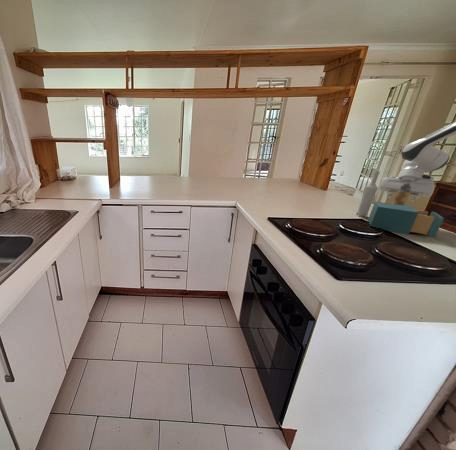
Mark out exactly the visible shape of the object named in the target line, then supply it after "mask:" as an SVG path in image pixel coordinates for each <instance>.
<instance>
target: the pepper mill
mask: <svg viewBox="0 0 456 450" xmlns="http://www.w3.org/2000/svg"><path fill="white" fill-rule="evenodd" d="M410 189H411V186H410V183H405V184H404V185H401V187H400V190H399V191H397V193H395V196H394V199H393V201H392V203H391V204H396V205H403V206H406V204H407V202H408V199H409V197H410V196H411V195H410V192H409V191H410Z"/></svg>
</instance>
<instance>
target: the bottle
mask: <svg viewBox="0 0 456 450" xmlns="http://www.w3.org/2000/svg"><path fill="white" fill-rule="evenodd" d="M380 173H381V171H380V170H375V171H374V173H373V176H372V179H371V181H370V183H369V184H367V185H365V187H364V190H363V192H362V196H361V199H360V203H359V206H358V208H357V210H356V212H355V215H356V216H358V215H359V216H358V217H362V216H367V217H368V215H369V211H370V208H371V206H372V203H373V201H374V199H375V196H376V194H377V191H378V190H379V186H377V184H376V183H377V181H378V178H379V175H380Z"/></svg>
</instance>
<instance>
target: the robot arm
mask: <svg viewBox="0 0 456 450" xmlns="http://www.w3.org/2000/svg"><path fill="white" fill-rule="evenodd" d="M453 136H456V120H455V121H453V122H451V123H448V124H447V125H445V126H444V127H440V128H439V129H437V130H434V131H432V132H431V133H429V134H427V135H424V136H423V137H421V138H418V139H416V140H412V141H410V142H409V143H408V144H406V145H404V146H403V148H402V149H401V159H403V160H404V161H403V163H402V165H401V168H400V171H399V173H398V175H397V176H389V175H387V176H384V177H381V179H380V184H379V186H378V191H380V192H385V194H386V198H388V199H391V197H392V195H393V193H395V194H397V191H399V190H400V187H401V185H404V184H405V183H410V186H411V189H410V191H409V192H410V195H409V196H413V197H412V198H411V202H414V203H415V202H417V200H418V199H420V198H421V197H423V198H430V197H432V195H433V194H434V190H435V183H434V179H435V176H432V175H428V174H427V173H431V172H435V171H438V170H440V169H442V168H444V167H445V166H446V165H447V164H448V162H449V161H450V157H451V156H450V154H449V153H448V152H447V151H444V150H442V149H440V148H438V147H436V146H434V145H435V144H437V143H439V142H442V141H444V140H446V139H448V138H450V137H453ZM425 173H426V174H425Z"/></svg>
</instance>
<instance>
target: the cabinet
mask: <svg viewBox="0 0 456 450" xmlns="http://www.w3.org/2000/svg"><path fill="white" fill-rule="evenodd" d="M416 210H417V209H415V208H414V207H413V206H409V205H405V206H403V205H396V204H392V203H388V202H383V201H374V203H373V206H372V207H371V210H370V214H369V216H368V219H367V222H369V223H368V225H369V224H370V225H369V227H370V226H372V227H377V228H381V229H380V230H382V229H383V231H387V232H392V233H393V232H394V233H397V234H398V233H399V234H404V235H409V234H410V233H411V232H410V230H411V228H412V226H413V223H414V221H415V219H416V217H417V215H418V212H417V211H416ZM377 228H376V229H377Z"/></svg>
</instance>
